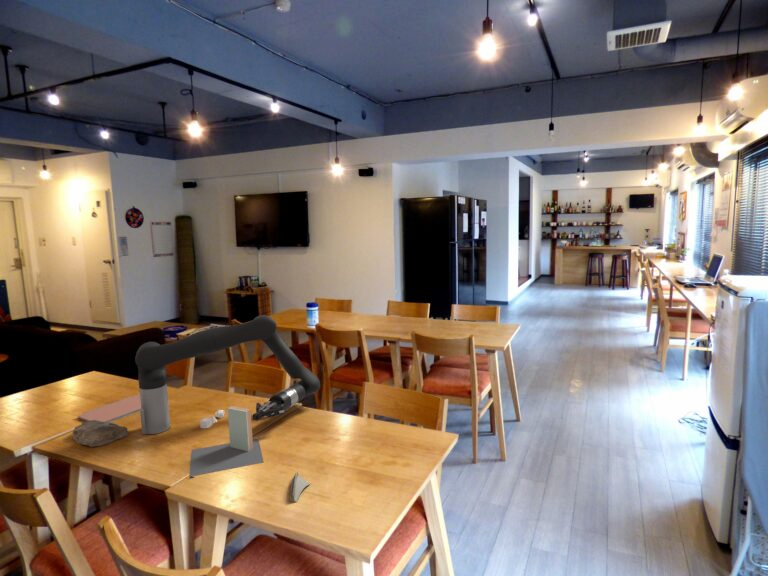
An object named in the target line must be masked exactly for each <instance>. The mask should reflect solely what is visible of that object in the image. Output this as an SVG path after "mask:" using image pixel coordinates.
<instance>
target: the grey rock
mask: <svg viewBox="0 0 768 576" xmlns="http://www.w3.org/2000/svg"><path fill="white" fill-rule="evenodd" d="M128 435H129V430H128V428H127V426H121V425H119V424H117V423H114V422H110V423H108V422H102V421H97V420H90V421H84V422H82V423H81V424H79V425H78V426H77V425H76V426H75V427H74V429H73V431H72V438H73V440H74V441H75V442H76V443H78V444H80V445H84V446H89V447H90V448H93V447H102V446H105V445H108V444H111V443H113V442H114V441H116V440H119V439H123V438H125V437H127V436H128Z"/></svg>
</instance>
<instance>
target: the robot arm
mask: <svg viewBox="0 0 768 576" xmlns="http://www.w3.org/2000/svg"><path fill="white" fill-rule="evenodd" d="M277 326H278V325H277V322H276V320H275V319H274V318H272V316H269V315H266V314H261V315H257V316H255V318H253V320H250V321H247V322H243V323H239V324H234V325H226V326H225V325H224V326H216V327H212V328H209V329H208V328H207V329H203V330H200V331H197V332H194V333H191V334H190V335H188V336H185V337H183V338H181V339H180V340H176V341H174V342H173V341H172V342H169V343H165V344H160V343H158V342H157V341H148V342H144V343H142V344H141V345H140V346H139V348H138V349H137V351H136V354H135V359H134V360H135V365H136V366H137V370H138V389H139V390H138V391H139V395H140V401H141V409H140V412H139V413H140V422H141V433H142V435H145V434H146V435H154V434H155V435H156V434H160V433H164V432H165V431H168V430H169V429H170V428H171V419H170V416H171V415H170V405H169V396H168V395H169V394H168V385H167V383H168V382H167V369H166V368H167V367H166V366H167V365H168V366H169V365H170V364H173V363H175V362H179V361H183V360H188V359H193V358H196V357H200V356H206V355H209V354H212V353H213V354H214V353H216V352H219V351H223V350H227V349H229V348H231V347H235V346H238V345H241V344H243V343H248V342H253V341H257V340H258V341H259V340H261V341H262V342H263V343H264V344H265V345H266V346H267V347H268V349H269V350H270V351H271V352H272V354H273V355H274V357H275V358H276V360H277V361H278V362H279V364H280V365H281V367H282V368H283V369H284V371H285V373H287V375H288V376H289V377H290V378H291V379H293V380H297V379H299V380H298V381H296V382H295V383H294V384H292V385H290V386H288V387H287V388H284V389H282V390H280V391H278V392H276V393H275V394H273V395H272V396H270V398H269V400H268V401H266V402H264V403H262V404H261V403H260V402H256V404H255V412H254V413H253V414H252V420H253V421H255V422H256V421H259V420H262V418H273V417H278V416H282V415H285V412H286V411H288V410H289V409H291V408H293V406H295V405H296V404H298V403H299V402H301V401H302V400H303V399H304V398H305V397H307V396H309V395H312V394H314V393H317V392H318V391H319V390H320V389H321V381H320V379H319V378H318V376H317V375H315V373H313V372H312V371H311V370H309V369H308V368H307V367H306V366H305V365H304V364H303V363H302V361H301V360H300V358H298V356H297V355H296V354H295V353H294V351H293V350H292V349H291V348H290V347H289V346H288V345H287V343H286V342H285V341H284V340H283V339H282V337H281V336H280V334H279V332H278V331H277V328H278V327H277Z"/></svg>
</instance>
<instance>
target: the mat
mask: <svg viewBox="0 0 768 576" xmlns="http://www.w3.org/2000/svg"><path fill="white" fill-rule="evenodd" d="M252 440H253V449H251V450H250V451H245V450H241V449H237V448H233V447H230V442H228V443H223V444H217V445H211V446H206V447H200V448H194V449H191V452H190V453H191V454H190V464H189V465H190V466H189V477H188V478H189V479H194V478H196V476H200V475H207V474H212V473H215V472H217V473H218V472H222V471H226V470H227V471H228V470H232V469H237V468H243V467H247V466H253V465H258V464H259V465H260V464H263V463H264V457H263V454H262V453H263V452H262V449H261V444H260V440H259V438H258V437H257V438H252Z"/></svg>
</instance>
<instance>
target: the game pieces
mask: <svg viewBox="0 0 768 576" xmlns="http://www.w3.org/2000/svg"><path fill="white" fill-rule="evenodd" d="M224 416H225V410H223V409H218V410H217V411H215V414H214V415H211V417H203V418H202V419H201V420H200V421H199V426H200V429H206V428H208V427H209V428H210V427H212V426H213V424H216V423H217V422H218V419H217V417H218V418H220V419H222V418H224ZM215 422H216V423H215ZM209 428H208V429H209Z"/></svg>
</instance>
